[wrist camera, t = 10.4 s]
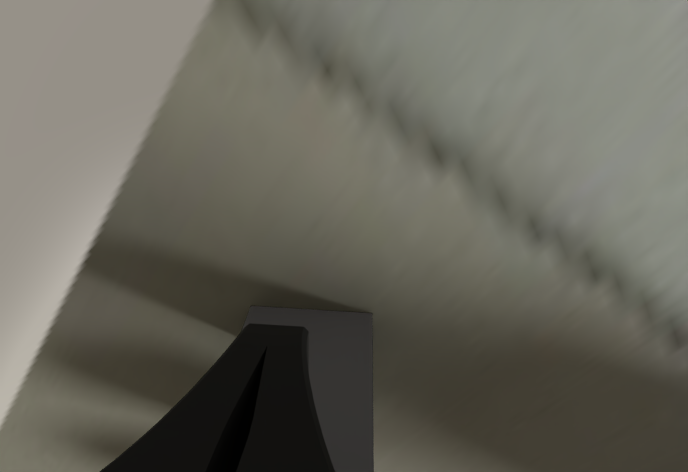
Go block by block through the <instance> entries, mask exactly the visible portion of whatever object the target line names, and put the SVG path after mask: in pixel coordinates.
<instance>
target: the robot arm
mask: <svg viewBox="0 0 688 472" xmlns="http://www.w3.org/2000/svg"><path fill="white" fill-rule="evenodd" d="M308 370H309V331H308V330H307V329H306V328H305V327H301V326H285V325H269V324H252V323H249V324H248V325H247V326H246V327H245V328H244V329H243V330H242V331H241V333H240V334H239V335H238V336H237V338H236V339H235V340H234V341H233V343H232V344H231V345H230V346H229V347H228V349H227V350H226V351H225V352H224V353H223V355H222V356H221V357H220V358H219V359H218V360H217V362H216V363H215V364H214V365H213V366H212V367H211V368H210V369H209V370H208V372H207V373H206V374H205V375H204V376H203V377H202V378H201V379H200V380H199V381H198V382H197V384H196V385H195V386H194V387H193V388H192V389H191V390H190V391H189V392H188V393H187V394H186V395H185V396H184V397H183V398H182V399H181V400H180V401H179V402H178V403H177V404H176V405H175V406H174V407H173V408H172V409H171V410H170V411H169V412H168V413H167V414H166V415H165V416H164V417H163V418H162V419H161V420H160V421H159V422H158V423H157V424H155V425H154V426H153V427H152V428H151V429H150V430H149V431H148V432H147V433H146V434H144V435H143V436H142V437H141V438H140V439H139V440H138V441H137V442H135V443H134V444H133V445H132V446H131V447H129V448H128V449H127V450H126V451H125V452H124V453H122V454H121V455H120V456H119V457H118V458H116V459H115V460H114V461H113V462H111V463H110V464H109V465H108V466H106V467H105V468H104V469H102V470H101V471H100V472H335V470H334V467H333V464H332V461H331V459H330V456H329V453H328V450H327V447H326V443H325V440H324V437H323V434H322V430H321V427H320V423H319V419H318V416H317V412H316V408H315V404H314V399H313V394H312V389H311V384H310V378H309V372H308Z"/></svg>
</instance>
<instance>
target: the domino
mask: <svg viewBox="0 0 688 472" xmlns="http://www.w3.org/2000/svg"><path fill="white" fill-rule="evenodd" d="M249 323H252V324H269V325H285V326H301V327H305V328H306V329H307V330H308V331H309V370H308V372H309V378H310V384H311V389H312V394H313V399H314V404H315V408H316V412H317V416H318V419H319V423H320V427H321V430H322V434H323V437H324V440H325V443H326V447H327V450H328V453H329V456H330V459H331V461H332V464H333V467H334V470H335V472H374V462H373V336H372V313H360V312H344V311H328V310H311V309H295V308H279V307H263V306H251V307H250V309H249V312H248V315H247V317H246V320H245V323H244V325H243V328H242V330H243V329H244V328H245V327H246V326H247V325H248V324H249Z"/></svg>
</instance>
